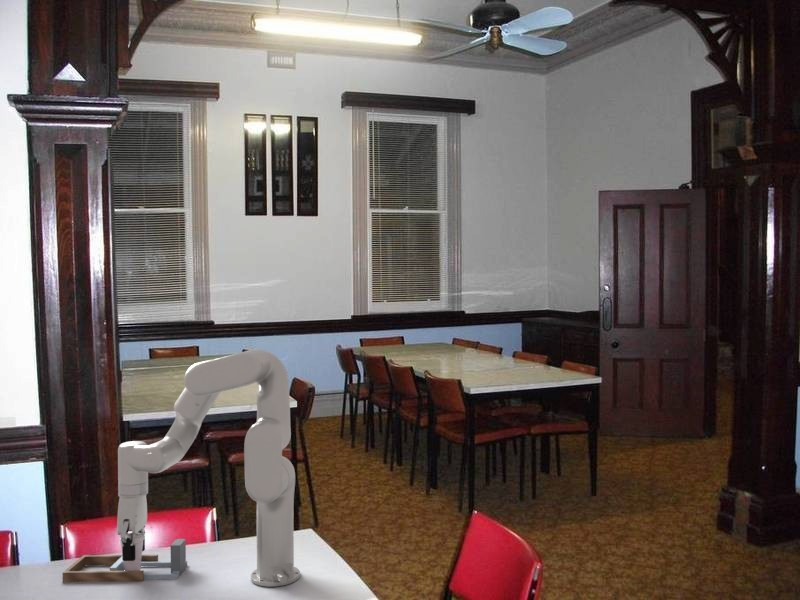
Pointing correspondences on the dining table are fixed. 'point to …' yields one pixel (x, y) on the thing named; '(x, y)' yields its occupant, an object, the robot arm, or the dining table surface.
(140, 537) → the smoothie
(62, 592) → the dining table surface
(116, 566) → the sled
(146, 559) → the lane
